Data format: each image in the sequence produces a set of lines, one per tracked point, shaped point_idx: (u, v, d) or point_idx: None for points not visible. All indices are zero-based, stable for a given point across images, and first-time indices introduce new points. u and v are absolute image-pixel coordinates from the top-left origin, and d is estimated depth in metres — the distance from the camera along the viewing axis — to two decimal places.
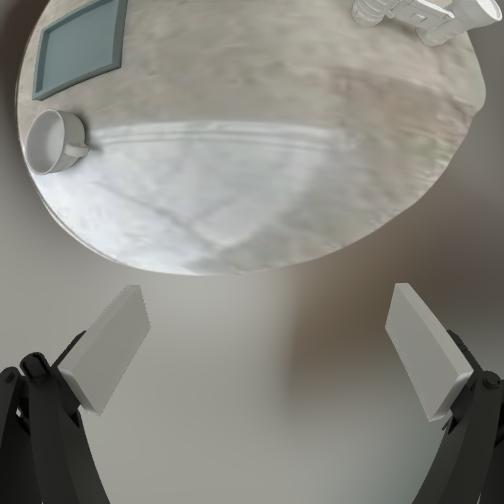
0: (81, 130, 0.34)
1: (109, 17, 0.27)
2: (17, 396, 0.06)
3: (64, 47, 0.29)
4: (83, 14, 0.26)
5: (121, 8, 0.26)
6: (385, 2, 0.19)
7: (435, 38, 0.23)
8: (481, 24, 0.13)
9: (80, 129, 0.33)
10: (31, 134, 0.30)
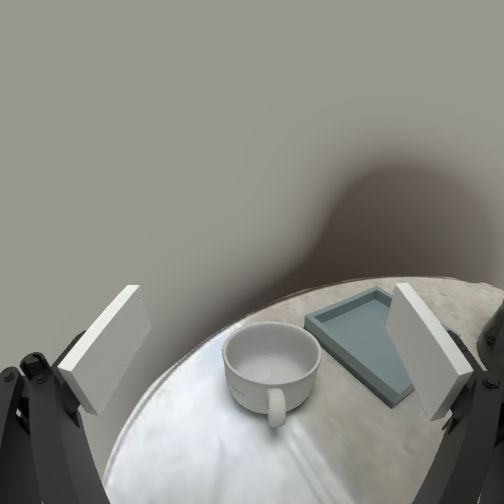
0: (298, 403, 0.26)
1: None
2: (17, 396, 0.06)
3: (373, 325, 0.40)
4: None
5: None
6: None
7: None
8: None
9: (299, 400, 0.26)
10: (271, 328, 0.33)
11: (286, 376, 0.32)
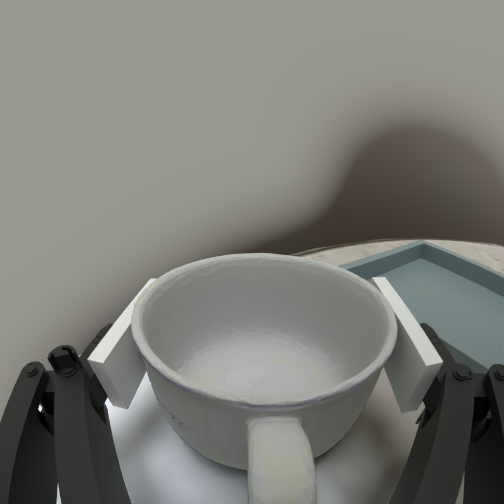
0: (335, 443, 0.09)
1: None
2: (40, 393, 0.06)
3: (432, 289, 0.23)
4: (481, 285, 0.22)
5: None
6: None
7: None
8: None
9: (339, 438, 0.09)
10: (265, 269, 0.16)
11: (297, 376, 0.15)
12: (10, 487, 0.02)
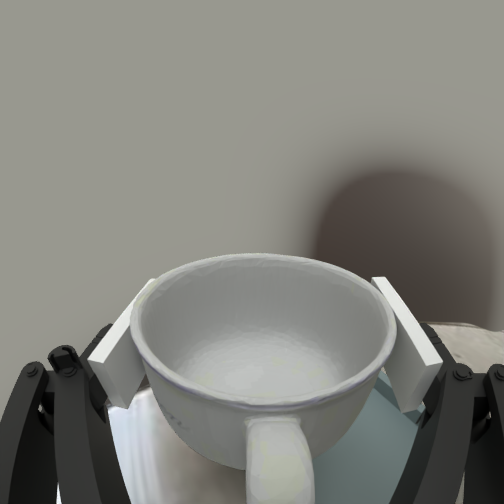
0: (334, 443, 0.09)
1: None
2: (40, 393, 0.06)
3: None
4: (405, 416, 0.21)
5: None
6: None
7: None
8: None
9: (338, 438, 0.09)
10: (264, 269, 0.16)
11: (296, 376, 0.15)
12: (10, 487, 0.02)
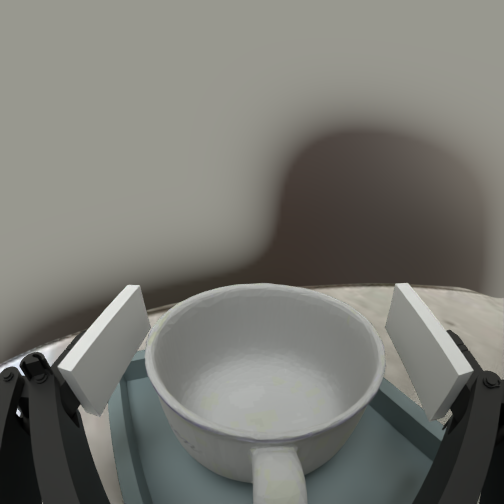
0: (327, 460, 0.09)
1: (379, 501, 0.08)
2: (17, 397, 0.06)
3: None
4: None
5: None
6: None
7: None
8: None
9: (331, 456, 0.09)
10: (266, 299, 0.17)
11: (295, 395, 0.16)
12: None
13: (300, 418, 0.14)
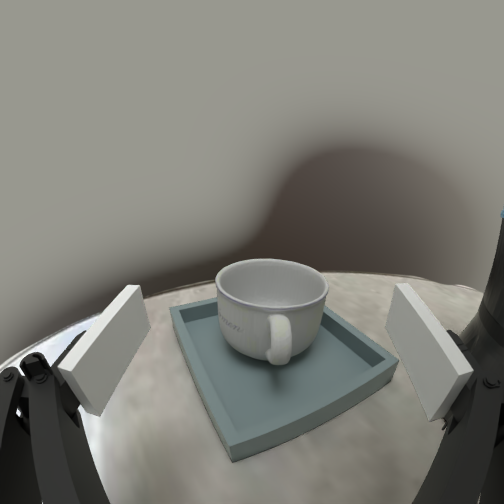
0: (303, 345, 0.24)
1: (337, 381, 0.22)
2: (17, 396, 0.06)
3: None
4: (328, 332, 0.29)
5: (362, 391, 0.20)
6: None
7: None
8: None
9: (305, 341, 0.24)
10: (270, 267, 0.31)
11: None
12: None
13: None
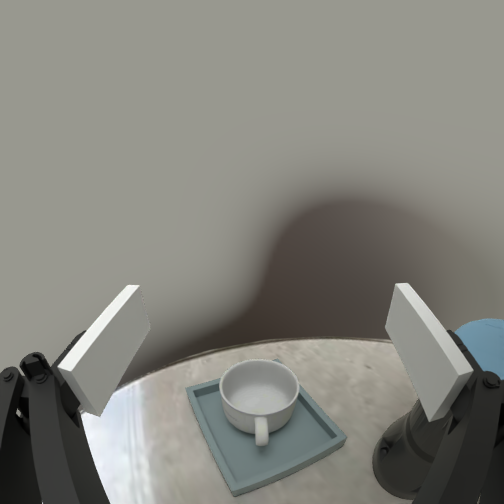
0: (280, 426, 0.31)
1: (303, 447, 0.30)
2: (17, 396, 0.06)
3: None
4: (303, 406, 0.37)
5: (318, 457, 0.27)
6: None
7: None
8: None
9: (281, 424, 0.31)
10: (260, 364, 0.38)
11: (272, 402, 0.38)
12: None
13: None
